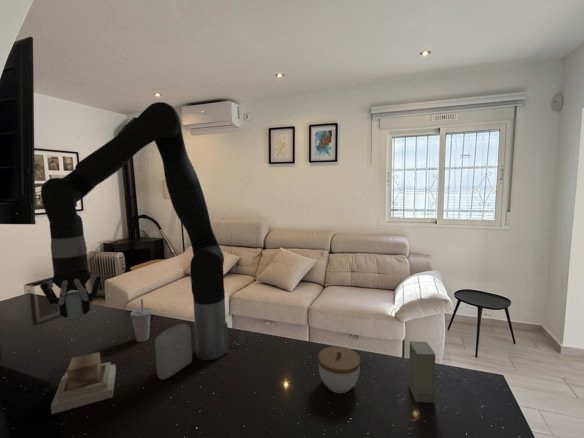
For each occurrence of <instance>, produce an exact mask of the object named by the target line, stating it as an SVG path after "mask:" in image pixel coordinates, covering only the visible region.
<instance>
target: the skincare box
mask: <svg viewBox="0 0 584 438" xmlns="http://www.w3.org/2000/svg"><path fill="white" fill-rule="evenodd" d="M408 368H409V371H408V373H409V374H408V375H409V376H408V384H409V385H408V387H409V389H410V392H411V393H412V396H413V398H414V400H415V402H416V403H428V404H429V403H430V404H431V403H432V404H433V403H435V379H436V378H435V376H436V373H435V372H436V353H435V351H434V350H433V349H432V348H431V346H430V345H429V343H428V342H427V341H414V340H413V341H409V364H408Z"/></svg>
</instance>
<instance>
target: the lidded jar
mask: <svg viewBox="0 0 584 438" xmlns="http://www.w3.org/2000/svg"><path fill="white" fill-rule="evenodd" d="M317 362H318V372H319V376H320V378H321V381H322V382H323V384H324V385H325V386H326V387H327V388H328V390H329V391H331V392H333V393H335V394H345V393H347V392H350V390H351V389H352V388H354V387H355V386H356V384H357V382H358V380H359V377H360V369H361V357H360V355H359V354H358V353H357V352H356V351H354V350H353V349H351V348H348V347H345V346H330V347H329V346H328V347H325V348H324V349H322V350H320V352H319V353H318V355H317Z"/></svg>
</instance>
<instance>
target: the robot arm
mask: <svg viewBox="0 0 584 438" xmlns="http://www.w3.org/2000/svg"><path fill="white" fill-rule="evenodd" d="M153 142H154V144H155V146H156V148H157V150H158V152H159V155H160V158H161V161H162V165H163V172H164V173H163V174H164V179H165V183H166V188H167V192H168V194H169V199H170V201H171V205H172V208H173V209H174V211H175V214H176V216H177V218H178V219H179V221H180V223H181V224H182V226H183V228H184V229H185V231H186V233H187V236H188V238H189V241H190V244H191V250H192V254H193V256H192V258H191V260H190V267H189V268H190V282H191V283H190V285H191V293H192V297H193V299H192V300H193V317H194V319H193V320H194V321H193V323H194V339H195V340H194V341H195V343H194V344H195V356H196V358H197V359H199V360H203V361H212V360H216V359H219V358H221V357H223V356H224V355H225V354H229V333H228V332H229V331H228V328H229V327H228V325H229V324H228V322H227V321H226V320H227V319H226V300H225V299H226V295H225V294H226V293H225V284H224V282H225V281H224V279H225V278H224V277H225V276H224V265H225V264H224V263H225V257H224V253H223V251H222V249H221V247H220V245H219V243H218V240H217V238H216V235H215V232H214V231H213V227H212V224H211V219H210V214H209V210H208V209H209V208H208V206H207V203H206V199H205V195H204V191H203V189H202V188H203V187H202V186H201V182H200V180H199V177H198V175H197V172H196V170H195V168H194V166H193V164H192V162H191V160H190V157H189V155H188V152H187V149H186V145H185V144H186V143H185V140H184V135H183V130H182V122H181V119H180V116H179V113H178V111H177V110H176V108H175V107H174V106H172V105H171V104H169V103H166V102H160V101H158V102H154V103H151V104H150V105H148V106H147V107H146V108H145V109H144V110H143V111H142V112H141V113H140V114H139V115H138V116H137V117H136V118H135V119H134V120H133V121H132V122H131V123H130V124H129V125H127V127H126V128H124V129H122V131H121V132H119V133H118V134H117V135H115V136H114V137H113V138H111V139H110V140H109V141H107V142H106V143H105V144H103V145H102V146H100V147H98V149H95V150H94V151H93V152H92V153H90V154H88V155H87V156H86V157H83V159H81V160H80V161H78V163H76V165H75V167H74V168H75V169H73V170H72V171H71V172H69V173H67V175H65V176H63V177H52V178H49V179H47V180H46V181H45V182H43V184H42V185H41V186H42V187H41V189H40V197H41V203H42V206H43V208H44V211H45V212H44V213H45V215H46V217H47V219H48V222H49V232H50V252H51V262H52V269H53V271H52V272H53V276H52V278H51V279H50V280H45V281H43V282H42V283H41V284H40V285H39V288H40V289H41V290H42V291H41V292H42V293H43V294H44V296H45V297H46V299H47V301H48V303H49V304H51V305H53V304H56V305H57V306H58V308H59V315H60V316H61V317H62V318H63V319H64V318H66V319H67V313H66V304H65V295H66V294H67V293H68V292H71V291H77V290H78V291H79V293H80V294H81V296H82V298H83V302H82V303H83V312H84V314H85V315H88V312H90V310H91V299H92V298H93V299H95V298H96V296H97V295H98V292H99V291H98V290H99V289H100V284H101V282H102V279H103V278H102V277H103V275H102V274H92V273H91V272H90V269H89V263H88V262H89V261H88V254H87V251H88V247H87V243H86V240H85V235H84V234H85V233H84V224H83V219H82V217H81V216H80V215H79V214H78V213H77V208H76V203H77V202H79V201H80V200H82V199H83V198H84V197H86V196H87V195H88V194H89V193H90V192H92V191H93V190H94V189H95V188H96V186H98V185H100V184H101V183H102V182H104V181H105V180H107V179H108V178H110V177H112V176H113V175H114V174H115V173H116V172H118V171H120V169H122V168H123V167H124V166H125V165H126V164H128V162H129V161H130V160H131V159H132V158H133V157H134V156H135V155H136V154H137V153H138V152H139V151H141V150H142V149H143V148H145V147H147V146H148V145H149V144H151V143H153ZM89 280H91V283H92V284H93V286H92V290H91V292H89V291H88V287H87V285H86V284H87V283H88V281H89ZM54 285H55V286H57V288H59V289H60V290H59V295H58V296H57V294H56V292H55V291H54V289H53V287H54Z"/></svg>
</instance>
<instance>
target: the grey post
mask: <svg viewBox="0 0 584 438" xmlns="http://www.w3.org/2000/svg"><path fill="white" fill-rule="evenodd" d="M82 302H83V298H82V296H81V294H80V293H79V291H78V290H77V291H75V290H72V291H69V292H68V293H67V294H66V295H65V304H66V313H67V317H66V321H68V322H73V321H78V320H82V319H83V318H85V317H86V314H84V312H83V303H82Z"/></svg>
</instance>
